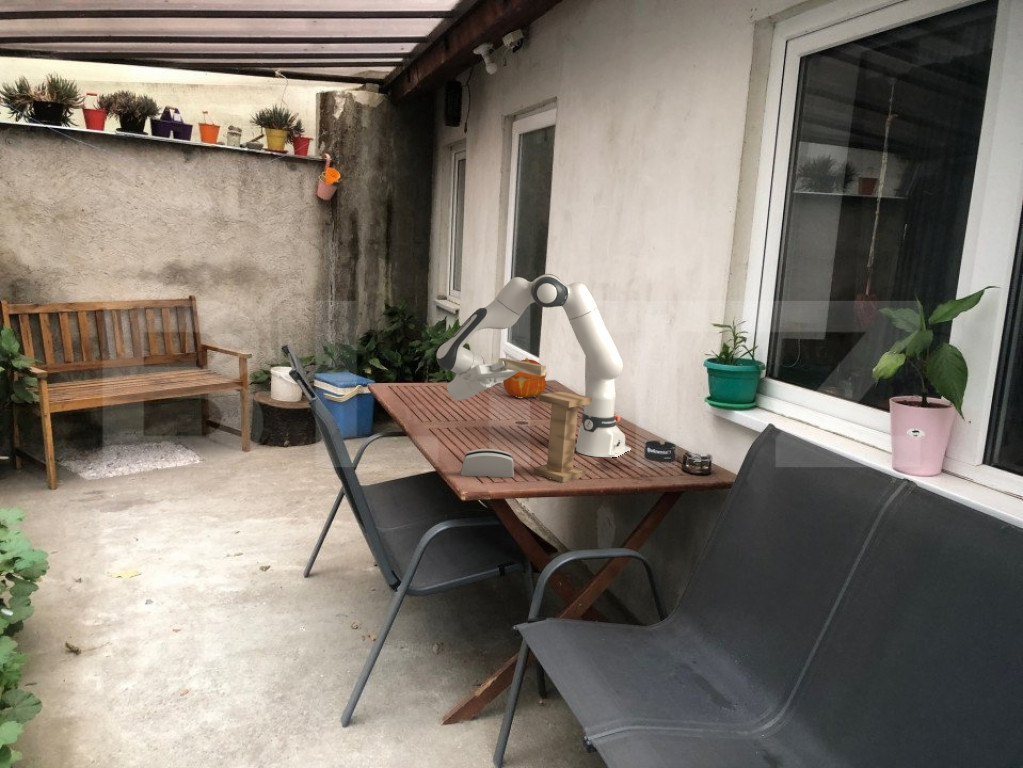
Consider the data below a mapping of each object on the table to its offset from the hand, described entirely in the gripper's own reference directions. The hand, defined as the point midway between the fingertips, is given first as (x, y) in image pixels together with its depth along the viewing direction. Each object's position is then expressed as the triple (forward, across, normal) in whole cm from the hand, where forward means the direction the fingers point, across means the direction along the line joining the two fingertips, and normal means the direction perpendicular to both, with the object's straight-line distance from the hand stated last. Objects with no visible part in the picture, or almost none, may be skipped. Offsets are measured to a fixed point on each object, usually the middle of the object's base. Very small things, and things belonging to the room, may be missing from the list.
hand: (508, 362), depth 246 cm
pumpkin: (-78, +92, -6) cm, 121 cm away
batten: (+4, 0, +5) cm, 6 cm away
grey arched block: (-6, -20, +35) cm, 41 cm away
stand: (+6, 0, +41) cm, 42 cm away
